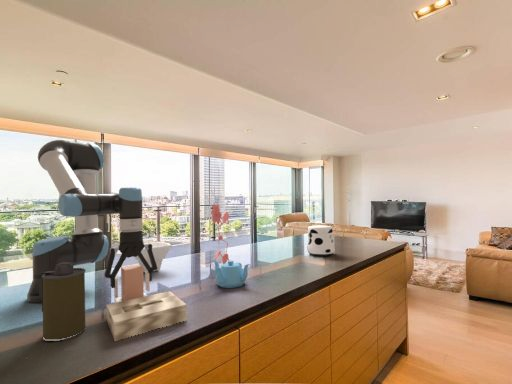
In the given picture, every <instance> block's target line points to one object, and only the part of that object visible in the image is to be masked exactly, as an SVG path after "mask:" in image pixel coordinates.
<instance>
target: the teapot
mask: <svg viewBox="0 0 512 384" xmlns="http://www.w3.org/2000/svg"><path fill="white" fill-rule="evenodd" d="M212 261H213V262H214V273H215V283H216V284H217V285H218V286H219V287H220V288H222V289H223V288H224V289H233V288H234V289H235V288H240V287H241V286H243V285H244V284H245V283H246V281H247V279H248V274H249V273H248V267H249V266H250V265H251V263H247V264H245V265H244V267H243V264H242V263H241V262H234V260H230V261H228V260H227V262H226V263H225V264H223V263H222V264H221V266H220V265H219V262H218V260H217V259H216V260H214V258H213V259H212Z"/></svg>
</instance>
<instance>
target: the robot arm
mask: <svg viewBox="0 0 512 384" xmlns="http://www.w3.org/2000/svg"><path fill="white" fill-rule="evenodd" d="M37 160H38V163H39V165H40V167H41V168H42V169H43V170H45V171H46V172H47V173H48V175H49V177H50V179H51V180H52V182H53V185H54V187H56V189H57V191H58V193H59V195H60V196H59V198H58V202H57V203H58V204H57V206H58V212H59V213H60V215H62V217H73V218H75V230H74V232H72V233H71V238H69V236H67V235H59V236H54V237H52V236H51V237H48V238H43V239H40V240H37V241H36V242H34V244H33V246H32V253H31V256H32V281H31V283H30V287H29V289H28V292H27V297H26V301H27V302H28V303H31V304H35V303H36V304H38V303H41V304H42V273H44V272H47V271H55V266H56V265H57V264H60V263H62V262H75V265H73V267H75V266H80V265H86V264H94V263H97V262H101V261H103V260H104V259H105V258H106V256H107V254H108V251H109V257H108V261H107V264H106V268H105V272H104V277H105V279H110V288H111V289H113V294H114V299H115V298H118V297H119V281H118V280H119V279H118V277H117V275H118V273H119V271H120V270H121V267H122V266H123V264H124V262H125V261H126V259H129V258H131V257H134V258H135V257H137V256H138V257H139V258H140V260H141V261H142V263H143V264H144V266H145V267H146V269H147V270H148V272H144V273H145V274H144V276H145V277H144V278H145V280H144V281H145V291H146V292H150V289H151V288H150V287H151V286H150V285H151V284H150V282H152V281H153V272H155V271H154V270H157V265H156V262H155V259H154V255H153V252H152V244H150V242H147V243H148V244H144V243H145V242H144V237H143V235H144V234H143V233H144V231H143V230H142V229H143V196H142V195H143V192H142V189H141V188H140V187H134V186H133V187H132V186H131V187H128V186H127V187H120V188H119V190H118V193H97V180H96V179H97V178H96V177H97V175H98V174H99V173H100V170H102V169H103V168H104V164H105V156H104V153H103V150H102V149H101V147H100V146H99V145H97V144H95V143H89V142H81V141H80V142H79V141H73V140H64V139H55V140H52V141H49V142H47V143H45V144H43V146H41V148H40V149H39V151H38V152H37ZM98 215H99V216H100V215H102V216H103V215H119V230H120V232H119V245H118V246H117V247H110V248H109V239H108V236H107V235H105V234H103V230H102V229H100V228H99V216H98ZM144 247H145V249H146V250H147V252H148V255H149V259H150V262H151V265H152V267H150V266H149V264H148V263H147V261H146V260H145V258H144V256H143V255H142V253H141V251H142V250H143V248H144ZM118 251H119V252H120V253H121V255H120V256H119V259H118V260H117V263H116V264H115V266H114V268H113V265H114V261H115V257H116V255H117V254H118ZM112 268H113V270H112ZM157 271H158V270H157Z"/></svg>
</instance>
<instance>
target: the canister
mask: <svg viewBox="0 0 512 384" xmlns="http://www.w3.org/2000/svg"><path fill="white" fill-rule="evenodd" d="M73 265H75V262H62V263H60V264H57V265H56V266H55V271H47V272H44V273H42V302H41V312H42V336H43V337H44V338H45V339H62V338H67V337H70V336H73V335H76V334H78V333H80V332H82V331H83V330H85V328H86V329H87V325H86V289H85V288H86V283H85V282H86V280H85V279H86V278H85V277H86V276H85V275H86V274H85V273H86V271H87V270H86V269H85V268H83V267H74V266H73ZM85 331H86V330H85ZM82 333H83V332H82Z"/></svg>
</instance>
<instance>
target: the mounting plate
mask: <svg viewBox="0 0 512 384" xmlns="http://www.w3.org/2000/svg"><path fill="white" fill-rule="evenodd" d="M187 311H188V310H187V303H185V302H184V301H183V300H181V299H180V297H178V296H176V294H174V293H173V292H171V290H169V291H164V292H160V293H155V294H150V295H147V296H145V297H140V298H136V299H131V300H126V301H122V302H117V303H115V302H112V303H109V304H108V303H107V304H106V322H107V325H108V327H109V329H110V333H111V335H112V338H113V341H114V342H117V341H118V342H119V341H122V340H125V339H129V338H132V337H134V336H135V335H136V336H138V334H139V335H142V333H143V334H146V333H149V332H148V331H150V332H152V331H151V330H153V331H155V330H154V329H157V328H160V329H163V328H167V327H170V326H174V325H177V324H180V323H179V322H181V323H184V322H186V321H187V317H188V315H187ZM183 321H184V322H183ZM187 322H188V321H187ZM176 323H177V324H176ZM173 324H174V325H173ZM166 326H167V327H166ZM162 327H163V328H162ZM157 330H158V329H157ZM145 332H146V333H145ZM131 336H132V337H131ZM136 336H135V337H136ZM128 337H129V338H128ZM121 339H122V340H121Z"/></svg>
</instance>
